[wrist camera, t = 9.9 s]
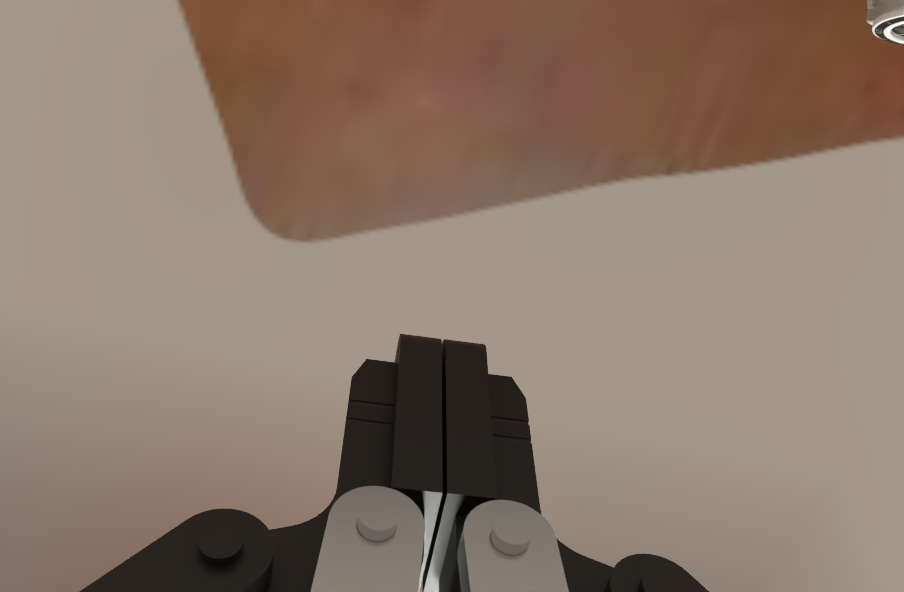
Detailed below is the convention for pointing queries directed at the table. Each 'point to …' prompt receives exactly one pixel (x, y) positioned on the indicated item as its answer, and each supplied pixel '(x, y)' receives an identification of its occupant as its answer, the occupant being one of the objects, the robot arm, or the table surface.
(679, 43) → the table surface
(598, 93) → the table surface
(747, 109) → the table surface
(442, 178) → the table surface
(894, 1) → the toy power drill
